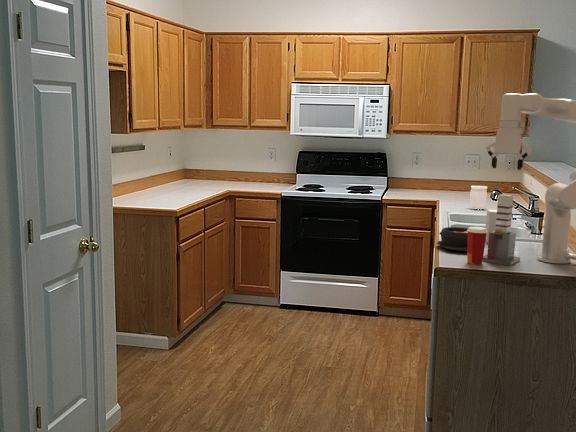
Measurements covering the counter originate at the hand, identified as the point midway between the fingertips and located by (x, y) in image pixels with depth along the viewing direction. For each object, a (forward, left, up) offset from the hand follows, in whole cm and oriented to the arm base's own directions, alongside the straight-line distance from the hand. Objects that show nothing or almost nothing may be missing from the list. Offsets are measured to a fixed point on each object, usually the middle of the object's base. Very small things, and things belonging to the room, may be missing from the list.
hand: (506, 168), depth 250 cm
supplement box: (+13, -34, -37) cm, 52 cm away
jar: (+62, -141, -37) cm, 159 cm away
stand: (-2, +4, -37) cm, 37 cm away
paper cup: (+4, +15, -37) cm, 40 cm away
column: (-2, +4, -28) cm, 28 cm away
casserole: (+20, -8, -37) cm, 43 cm away
